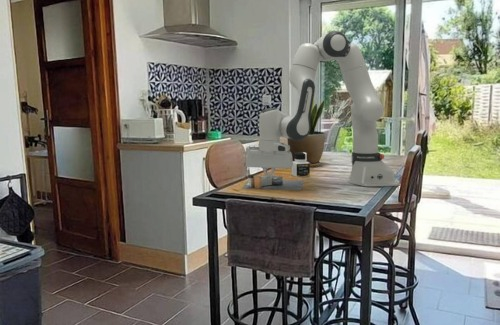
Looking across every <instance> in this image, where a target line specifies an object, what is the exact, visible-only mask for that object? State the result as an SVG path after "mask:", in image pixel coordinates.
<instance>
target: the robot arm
mask: <svg viewBox="0 0 500 325" xmlns="http://www.w3.org/2000/svg"><path fill="white" fill-rule="evenodd" d="M334 60H335V62H336V63H337V64H338V66H339V69H340V72H341V76H342V79H343V82H344V85H345V89H346V91H347V92H348V94H349V96H350V99H351V101H352V105H350V113H351V125H352V126H351V127H352V151H351V171H350V176H349V180H348V183H350V184H353V185H357V186H358V185H359V186H362V187H392V186H393V187H394V186H395V187H398V186H400V185H401V182H400V180H399V179H397V178H395V177H396V176H395V171H394V170H393V168H392V167H390V166H389V165H388V164H387V163H385V162H384V161H383V159H385V155H384V154H383V153H380V152H378V151H379V133H378V129H377V121H379V120H380V119H381V118H382V117H383V114H384V106H383V104H382V102H381V99H380V98H379V95H378V93H377V90H376V89H375V87H374V84H373V83H372V79H371V77H370V74H369V70H368V67H367V63H366V61H365V58H364V56H363V52H362V51H361V49H360V48H359V46H358V44H356V43H352V42H351V41H350V40H348V38H347V37H346V35H345V34H344V33H343V32H341V31H339V30H337V31H336V30H335V31H334V30H333V31H330V32H328V33H326V34H324V35H322V36H320V37H319V38H318V39H317V40H315V41H314V42H313V43H310V42H308V43H307V42H305V43H302V44H300V45H299V47H298V49H297V50H296V53H295V55H294V57H293V60H292V62H291V66H290V70H289V75H288V76H289V77H288V80H289V83H290V84H291V86H292V87H293V88H294V89H295V90H297V92H298V100H297V104H296V109H295V113H294V115H289V114H286V113H284V112H282V111H281V110H279V108H278V107H269V108H265V109H262V110H261V111H260V113H259V114H260V115H259V121H258V129H259V137H258V145H249V146H247V147H246V148H245V155H246V158H245V166H246V167H247V168H261V169H262V172H264V176H265V177H266V178H273V175H274V173H275V172H276V169H286V170H287V169H292V166H293V159H292V154H291V152H290V151H289V150H290V146H289V145H288V143H284V142H281V141H280V138H281V137H282V138H286V139H288V138H290V139H293V140H296V141H301V140H304V139H305V138H306V137H307V136H308V134H309V132H310V116H311V110H312V104H313V99H314V100H315V92H316V86H315V78H316V74H317V70H318V66H319V64H320V63H327V62H329V61H334ZM268 169H270V170H271V172H270V173H268V172H267V170H268Z"/></svg>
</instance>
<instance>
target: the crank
mask: <svg viewBox="0 0 500 325" xmlns="http://www.w3.org/2000/svg"><path fill="white" fill-rule="evenodd" d="M259 176H260V177H261V186H267V185H282V184H283V180H284V178H283V177H284V176H280V175H274V174H273V178H266V177H265V175H259ZM247 177H248V178H247V179H248V180H247V181H248V185H249V187H255V186H254V177H255V175H254V174H248V175H247Z"/></svg>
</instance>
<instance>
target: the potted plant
mask: <svg viewBox="0 0 500 325" xmlns="http://www.w3.org/2000/svg"><path fill="white" fill-rule="evenodd" d="M314 103H315V98H314V99H313V104H312V110H311V116H310V132H309V134H308V136H307V137H306V138H305V139H304V140H301V141H296V140H293V139H290V138H287V145H289V146H290V150H289V151H290V152H291V154H292V159H293V161H295V153H297V152H305V153H306V154H307V160H306V162H309V163H310V168H315V167H319V166H320V164H321V158H322V156H323V154H324V150H325V142H326V132H324V131H318V130H317V131H316V127H317V124H318V121H319V119H320V118H321V116H322V114H323V111H324V108H325V107H324V106H325V100H323V101H322V102H320V105H319V106H318V104H317V103H315V104H314Z"/></svg>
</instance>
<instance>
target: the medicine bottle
mask: <svg viewBox="0 0 500 325" xmlns="http://www.w3.org/2000/svg"><path fill="white" fill-rule="evenodd" d="M306 160H307V154H306V153H305V152H297V153H295V161H293V166H292V167H291V176H293V177H296V178H307V177H308V178H309V177H311V176H310V175H311V167H310V163H309V162H306Z"/></svg>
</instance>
